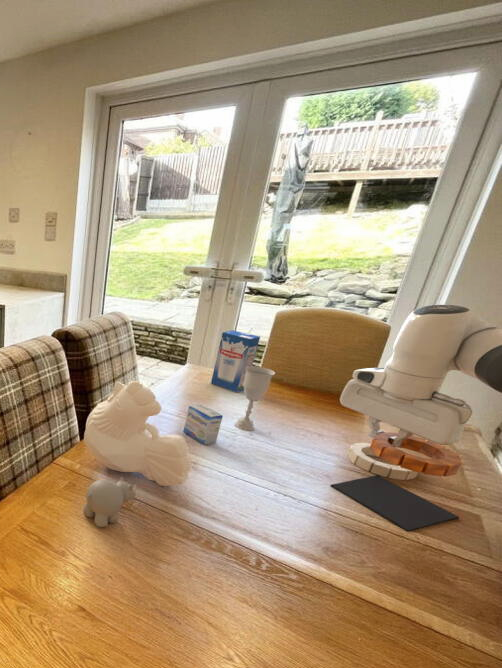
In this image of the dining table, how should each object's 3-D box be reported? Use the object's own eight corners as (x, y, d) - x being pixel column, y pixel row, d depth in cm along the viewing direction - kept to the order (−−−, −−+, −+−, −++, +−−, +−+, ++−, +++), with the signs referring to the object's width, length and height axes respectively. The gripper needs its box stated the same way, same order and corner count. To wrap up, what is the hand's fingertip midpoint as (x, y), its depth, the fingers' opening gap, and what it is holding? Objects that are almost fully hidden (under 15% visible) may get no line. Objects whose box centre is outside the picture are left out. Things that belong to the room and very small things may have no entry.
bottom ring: (429, 475, 96) (433, 466, 95) (391, 483, 92) (395, 474, 92) (370, 448, 107) (373, 440, 106) (335, 454, 104) (338, 446, 103)
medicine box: (182, 432, 115) (188, 405, 111) (194, 429, 116) (200, 403, 113) (204, 445, 108) (211, 417, 104) (216, 442, 109) (223, 414, 106)
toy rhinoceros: (145, 517, 81) (152, 483, 78) (98, 534, 77) (103, 498, 74) (121, 496, 88) (127, 464, 84) (77, 511, 83) (80, 477, 80)
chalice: (264, 429, 116) (281, 373, 109) (247, 434, 114) (264, 376, 107) (241, 419, 122) (256, 364, 116) (225, 422, 120) (239, 367, 113)
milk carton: (246, 389, 144) (260, 336, 137) (236, 392, 142) (250, 339, 134) (220, 380, 152) (232, 330, 145) (210, 383, 150) (222, 332, 142)
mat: (458, 518, 82) (459, 516, 81) (407, 531, 78) (408, 530, 78) (377, 476, 95) (377, 474, 95) (330, 486, 91) (330, 484, 91)
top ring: (472, 471, 78) (478, 460, 77) (427, 480, 75) (432, 469, 74) (396, 438, 90) (401, 429, 89) (355, 445, 87) (359, 436, 86)
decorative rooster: (67, 425, 104) (99, 379, 82) (116, 405, 109) (158, 357, 87) (119, 515, 94) (170, 490, 72) (170, 489, 98) (233, 458, 77)
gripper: (487, 402, 73) (454, 465, 78) (366, 366, 91) (346, 419, 97) (465, 406, 72) (432, 470, 77) (346, 368, 90) (326, 421, 95)
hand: (383, 441), depth 87 cm, fingers closed on top ring, 2 cm apart
